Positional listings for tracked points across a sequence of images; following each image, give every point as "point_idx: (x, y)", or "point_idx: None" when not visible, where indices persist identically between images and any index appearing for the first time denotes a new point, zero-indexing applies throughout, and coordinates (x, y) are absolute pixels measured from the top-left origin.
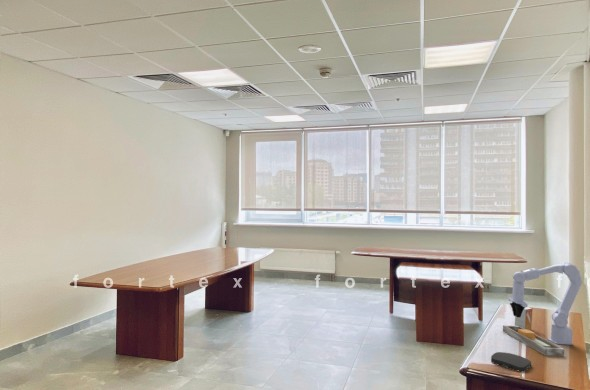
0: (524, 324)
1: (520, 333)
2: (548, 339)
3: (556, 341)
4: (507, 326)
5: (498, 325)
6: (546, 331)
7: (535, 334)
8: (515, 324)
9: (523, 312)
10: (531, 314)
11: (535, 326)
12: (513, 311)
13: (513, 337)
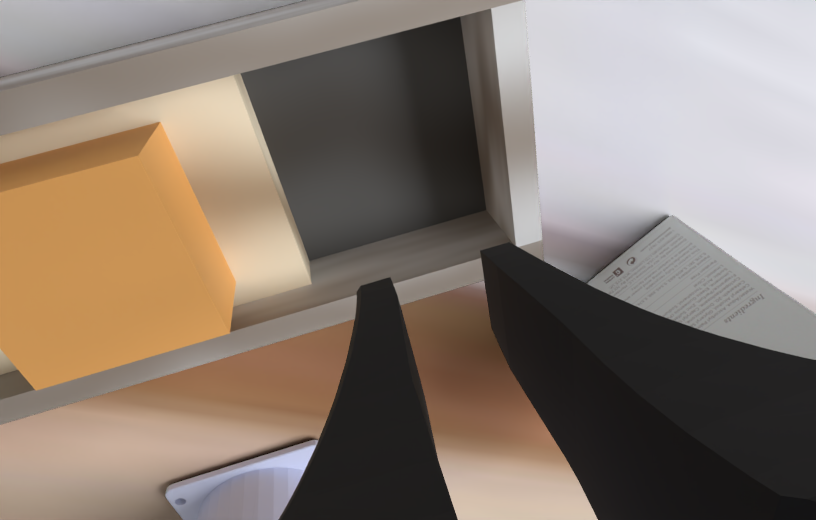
0: None
1: (66, 158)
2: (291, 448)
3: (206, 502)
4: (491, 48)
5: (778, 10)
6: None
7: (152, 375)
8: (693, 244)
9: None
10: None
11: None
12: (544, 300)
13: (163, 37)
